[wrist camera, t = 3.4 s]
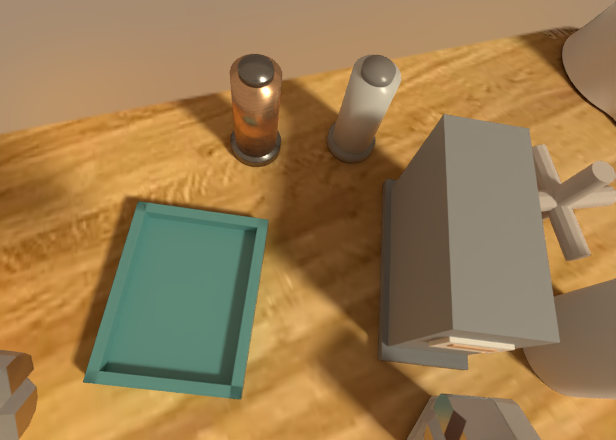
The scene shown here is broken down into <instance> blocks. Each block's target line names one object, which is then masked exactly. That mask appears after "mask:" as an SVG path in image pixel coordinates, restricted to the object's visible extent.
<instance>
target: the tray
mask: <svg viewBox="0 0 616 440" xmlns="http://www.w3.org/2000/svg"><path fill="white" fill-rule="evenodd" d="M267 231H268V220H266V219H259V218H252V217H245V216H238V215H231V214H224V213H217V212H210V211H203V210H196V209H189V208H182V207H175V206H168V205H161V204H154V203H147V202H140V201H138V203H137V206H136V210H135V213H134V216H133V219H132V223H131V226H130V229H129V233H128V236H127V239H126V242H125V246H124V249H123V252H122V256H121V259H120V262H119V265H118V269H117V272H116V275H115V279H114V282H113V285H112V288H111V292H110V295H109V298H108V301H107V305H106V308H105V311H104V315H103V318H102V321H101V324H100V328H99V331H98V334H97V338H96V341H95V344H94V347H93V351H92V354H91V357H90V361H89V364H88V367H87V370H86V374H85V377H84V380H83V382H84V383H93V384H103V385H112V386H121V387H130V388H139V389H149V390H158V391H167V392H176V393H186V394H195V395H204V396H213V397H223V398H232V399H241V398H242V392H243V386H244V379H245V373H246V366H247V360H248V353H249V347H250V341H251V334H252V328H253V321H254V315H255V308H256V302H257V295H258V289H259V282H260V276H261V269H262V263H263V256H264V250H265V243H266V237H267Z"/></svg>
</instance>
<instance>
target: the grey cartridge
mask: <svg viewBox="0 0 616 440" xmlns="http://www.w3.org/2000/svg"><path fill="white" fill-rule="evenodd" d="M400 82H401V74H400V71H399V69H398V67H397V66H396V65H395V64H394V63H393V62H392V61H391V60H390V59H388V58H387V57H384V56H381V55H367V56H364V57H361V58H360V59H358V60H357V61H356V63H355V64H354V67H353V70H352V73H351V76H350V80H349V83H348V86H347V89H346V92H345V96H344V99H343V102H342V105H341V108H340V112H339V115H338V118H337V121H336V122H335V123H334V124H333V125H332V126H331V128H330V130H329V133H328V137H327V146H328V149H329V151H330V152H331V153H332V155H333V156H334V157H336V158H337V159H339V160H340V161H343V162H346V163H359V162H362V161H364V160H365V159H367V158H368V157H369V155H370V154H371V152H372V150H373V148H374V145H375V134H376V132H377V130H378V128H379V126H380V124H381V122H382V120H383V117H384V115H385V113H386V111H387V109H388V107H389V105H390V103H391V101H392V99H393V97H394V95H395V93H396V91H397V89H398V87H399V84H400Z"/></svg>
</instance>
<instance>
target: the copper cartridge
mask: <svg viewBox="0 0 616 440" xmlns="http://www.w3.org/2000/svg"><path fill="white" fill-rule="evenodd" d="M230 83H231V95H232V106H233V118H234V131H233V133H232V135H231V146H232V151H233V154H234V156H235V157H236V158H237V159H238V160H239V161H240V162H241V163H243V164H245V165H248V166H251V167H262V166H266V165H268V164H270V163H272V162H273V161H274V160H275V159H276V158H277V156H278V154H279V152H280V145H281V138H280V135H279V132H278V131H277V130H278V119H279V107H280V96H281V84H282V71H281V69H280V67H279V65H278V64H277V63H276V62H275V61H274V60H273V59H271V58H269V57H267V56H264V55H260V54H249V55H245V56H242V57H240V58H238V59H237V60H236V61H235V62H234V63H233V64H232V66H231V69H230Z"/></svg>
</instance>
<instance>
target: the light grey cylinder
mask: <svg viewBox="0 0 616 440" xmlns="http://www.w3.org/2000/svg"><path fill="white" fill-rule="evenodd" d="M554 304H555V310H556V317H557V324H558V331H559V338H560V343H554V344H547V345H539V346H531V347H524V348H523V351H524V354H525V356H526V359H527V361H528V363H529V365H530V366H531V368H532V370H533V371H534V372H535V374H536V375H537V376H538V377H539V378H540V379H541V380H542V381H543V382H544V383H545V384H546V385H547V386H549V387H550V388H551V389H553V390H555V391H556V392H558V393H560V394H563V395H566V396H570V397H578V398H599V399H616V279H613V280H610V281H606V282H603V283H599V284H596V285H592V286H589V287H585V288H582V289H578V290H575V291H572V292H568V293H565V294H561V295H558V296H554Z"/></svg>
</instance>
